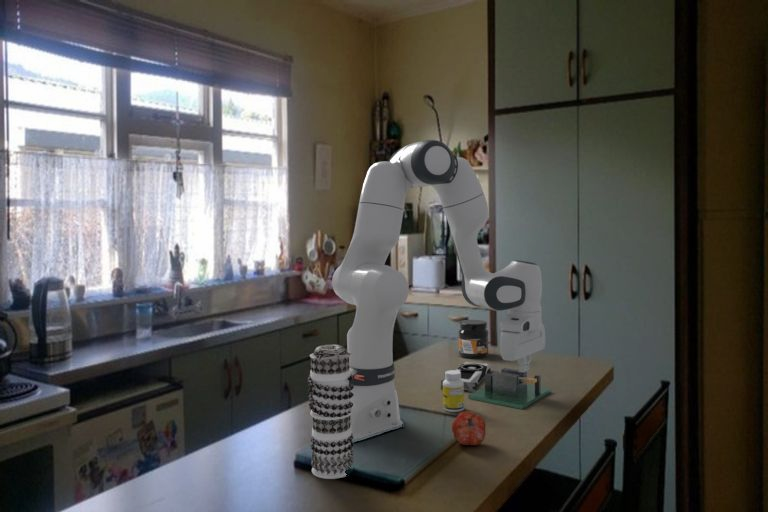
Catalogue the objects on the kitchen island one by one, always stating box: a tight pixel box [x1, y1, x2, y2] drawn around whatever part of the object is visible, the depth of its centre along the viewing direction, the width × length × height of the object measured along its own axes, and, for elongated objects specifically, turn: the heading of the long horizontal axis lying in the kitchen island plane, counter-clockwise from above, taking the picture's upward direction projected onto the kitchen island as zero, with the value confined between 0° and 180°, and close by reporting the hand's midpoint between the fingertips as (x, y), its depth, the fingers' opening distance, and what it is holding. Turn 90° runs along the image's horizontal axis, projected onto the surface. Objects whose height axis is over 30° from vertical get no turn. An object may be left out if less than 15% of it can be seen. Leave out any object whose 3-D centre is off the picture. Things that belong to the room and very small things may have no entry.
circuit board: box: [467, 367, 552, 410], centre depth 171 cm, size 18×16×6 cm
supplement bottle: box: [442, 369, 465, 413], centre depth 160 cm, size 5×5×10 cm
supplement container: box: [457, 319, 490, 359], centre depth 218 cm, size 10×10×12 cm
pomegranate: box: [451, 410, 486, 446], centre depth 137 cm, size 7×7×10 cm
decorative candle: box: [306, 344, 355, 480], centre depth 124 cm, size 9×9×25 cm
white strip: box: [491, 373, 537, 384], centre depth 171 cm, size 3×14×1 cm, turn 52°
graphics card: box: [440, 361, 491, 393], centre depth 188 cm, size 10×3×25 cm
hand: (523, 371), depth 168 cm, fingers closed
